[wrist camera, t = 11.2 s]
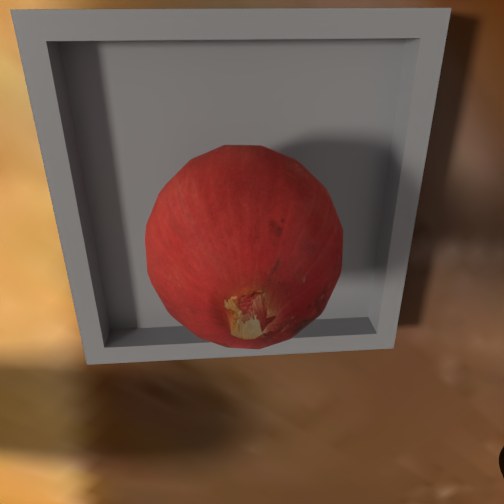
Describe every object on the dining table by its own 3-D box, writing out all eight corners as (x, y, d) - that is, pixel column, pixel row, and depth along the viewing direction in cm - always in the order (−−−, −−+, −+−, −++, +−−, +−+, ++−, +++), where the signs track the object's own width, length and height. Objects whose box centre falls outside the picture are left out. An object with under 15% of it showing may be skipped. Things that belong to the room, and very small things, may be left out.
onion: (347, 200, 17) (439, 331, 10) (239, 293, 19) (253, 463, 12) (239, 84, 15) (261, 148, 8) (127, 201, 17) (61, 340, 10)
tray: (33, 10, 14) (10, 9, 13) (426, 9, 15) (451, 8, 13) (97, 337, 20) (86, 364, 18) (379, 323, 21) (393, 348, 19)
